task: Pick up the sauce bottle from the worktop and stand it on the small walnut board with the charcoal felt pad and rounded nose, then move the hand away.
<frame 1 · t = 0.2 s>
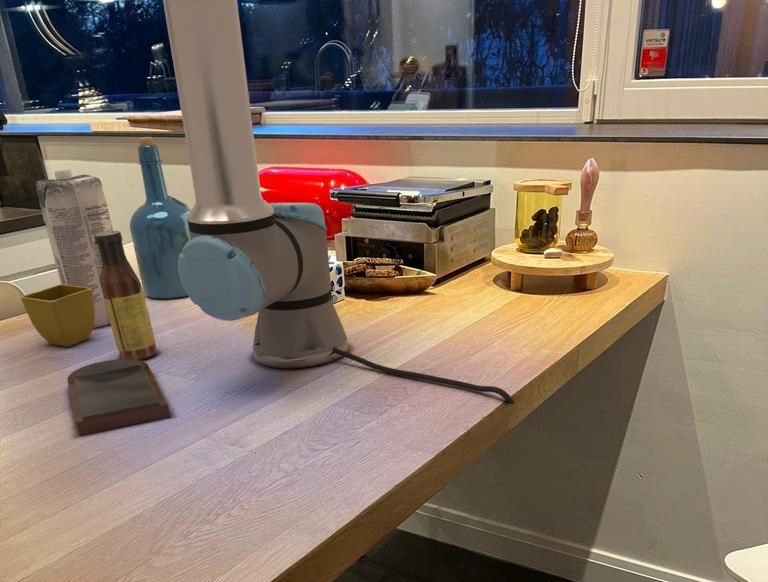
juice carton: (102, 322, 150), on the counter
wine bottle: (176, 292, 167), on the counter
board: (116, 399, 114), on the counter
flower pot: (70, 343, 140), on the counter
sauce bottle: (138, 357, 131), on the counter
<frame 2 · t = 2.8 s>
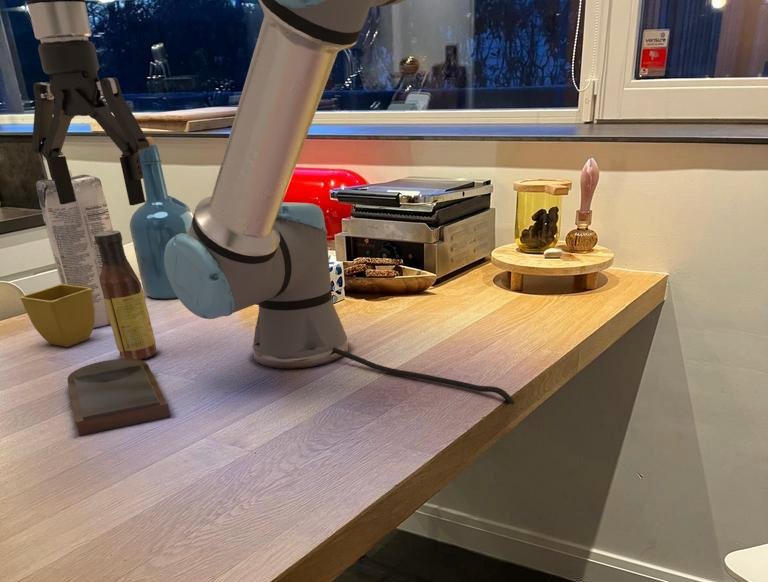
hand: (102, 203, 119), 24 cm above the counter, tool pointing down, fingers open, 13 cm apart
nothing on the counter moved.
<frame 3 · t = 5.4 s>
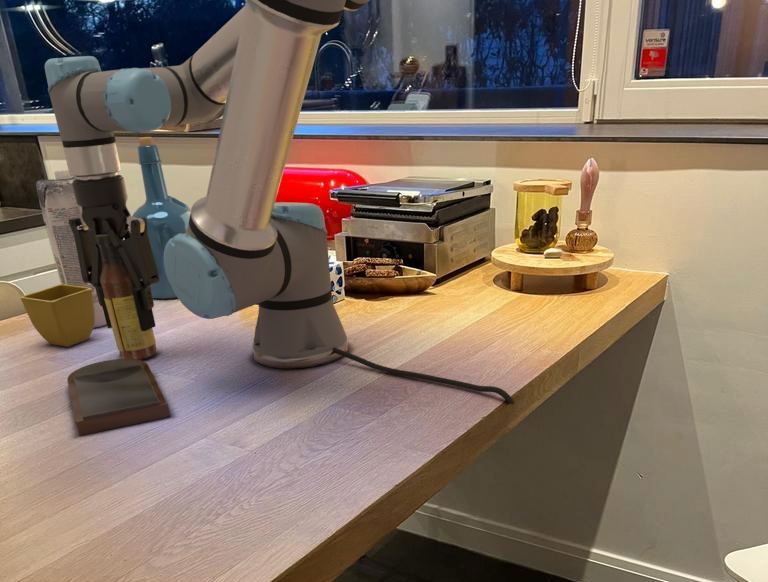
hand: (131, 326, 128), 5 cm above the counter, tool pointing down, fingers closed on sauce bottle, 6 cm apart
sauce bottle: (138, 356, 131), on the counter, touching gripper
everything else where it was.
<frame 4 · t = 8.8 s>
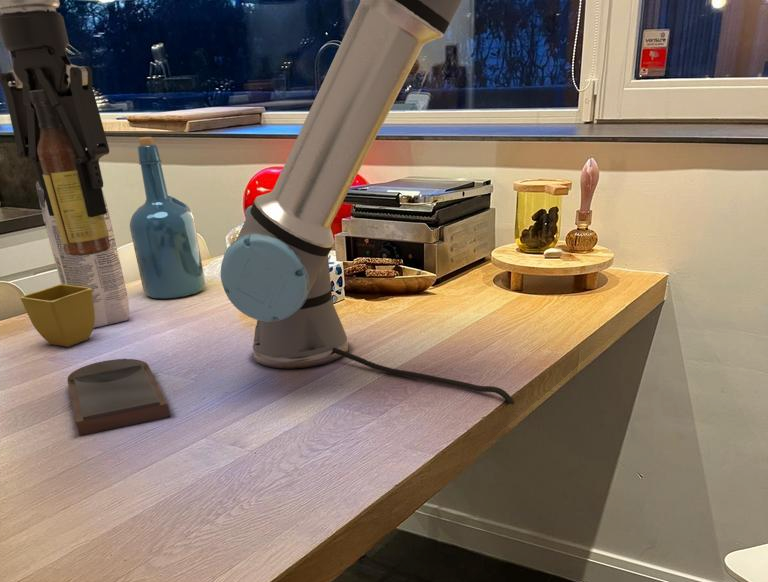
hand: (78, 214, 105), 25 cm above the counter, tool pointing down, fingers closed on sauce bottle, 6 cm apart
sauce bottle: (87, 253, 108), point 20 cm above the counter, touching gripper
everything else where it was.
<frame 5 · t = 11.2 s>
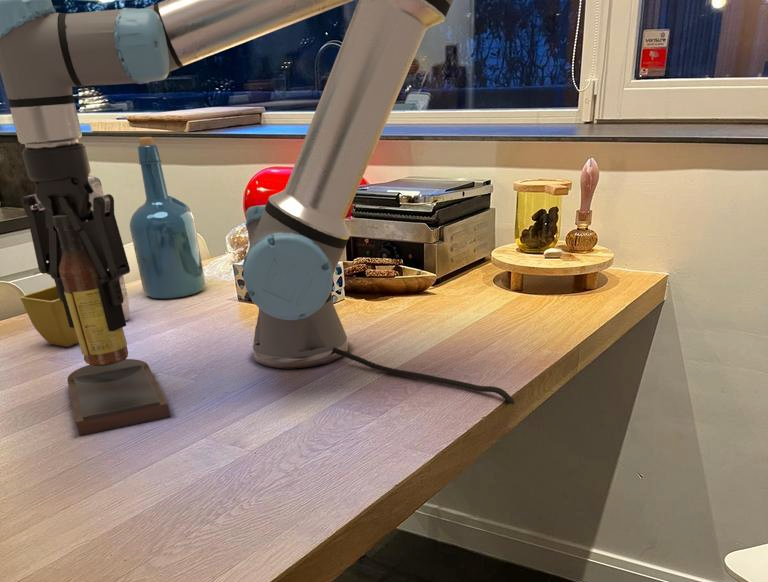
hand: (97, 326, 108), 11 cm above the counter, tool pointing down, fingers closed on sauce bottle, 6 cm apart
sauce bottle: (106, 361, 111), point 6 cm above the counter, touching gripper
everything else where it was.
when the fingers open (7 cm above the counter, at t = 12.6 s): sauce bottle stays where it is, resting on board.
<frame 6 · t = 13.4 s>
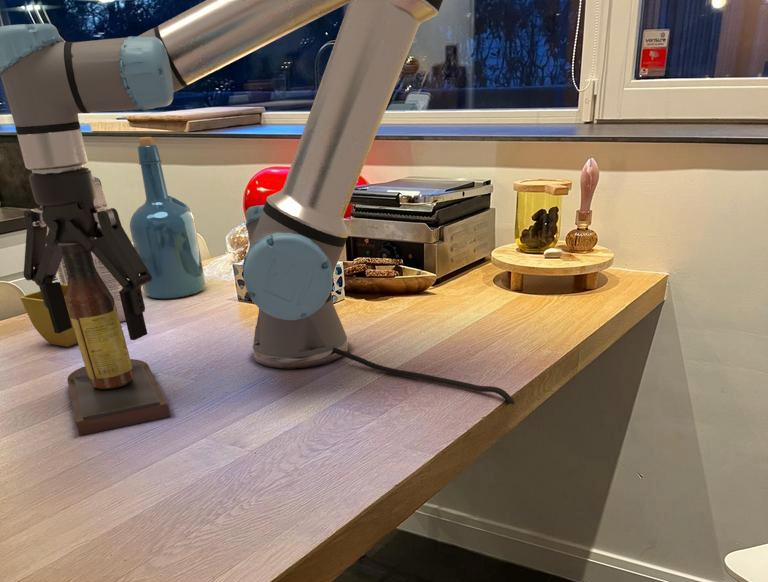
hand: (100, 333, 109), 10 cm above the counter, tool pointing down, fingers open, 13 cm apart
sauce bottle: (112, 384, 113), point 2 cm above the counter, touching board
everything else where it was.
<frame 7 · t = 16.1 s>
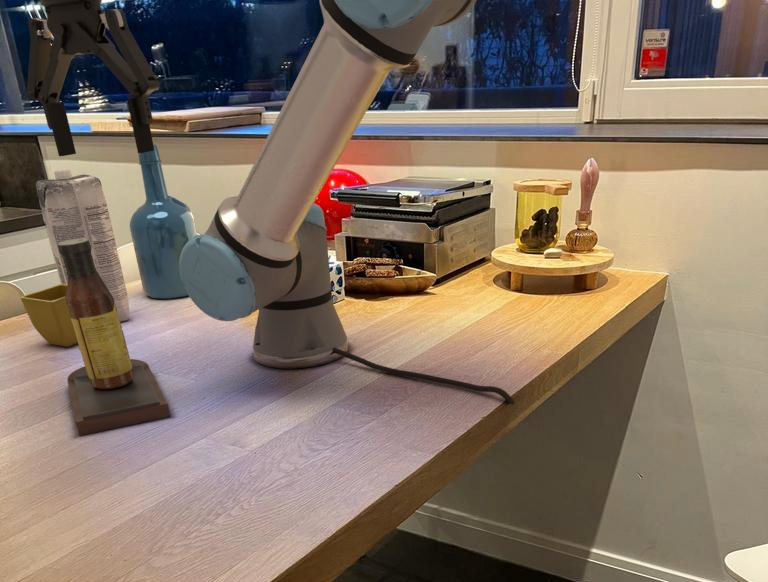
hand: (106, 153, 108), 31 cm above the counter, tool pointing down, fingers open, 13 cm apart
nothing on the counter moved.
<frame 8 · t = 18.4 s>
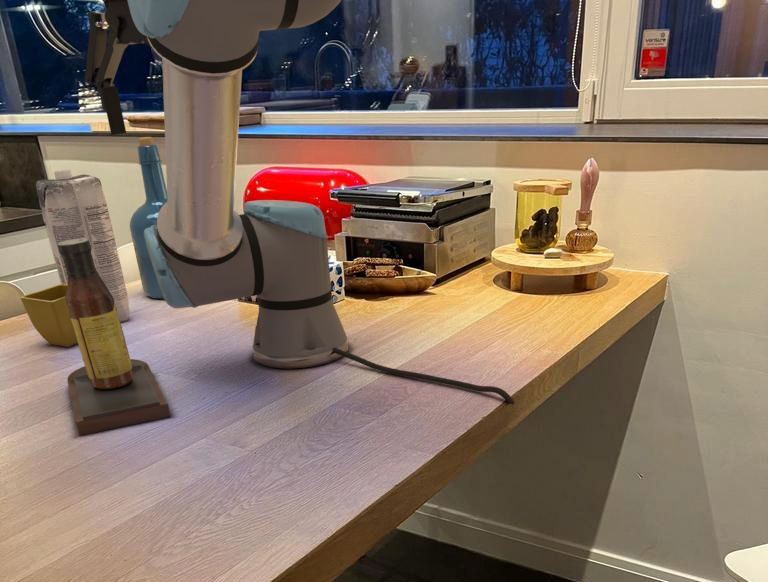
hand: (152, 133, 122), 33 cm above the counter, tool pointing down, fingers open, 13 cm apart
nothing on the counter moved.
at the end: sauce bottle inside the target area on the board (0.0 cm from its centre), point 2.3 cm above the board's base; sauce bottle tilted 0°; the gripper is holding nothing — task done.
